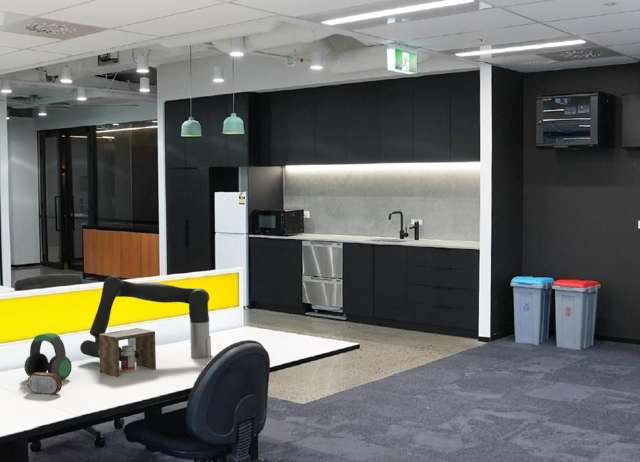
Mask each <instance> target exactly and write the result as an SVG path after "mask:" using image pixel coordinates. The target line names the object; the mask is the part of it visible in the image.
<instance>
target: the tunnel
mask: <svg viewBox="0 0 640 462" xmlns="http://www.w3.org/2000/svg"><path fill="white" fill-rule="evenodd" d="M131 338H135V339H136V351H137V353H139V358H135V367H136V366H138V367H142V368H146V369H150V370H157V365H156V364H157V360H156V359H157V356H156V331H155V330H151V329H146V328H145V329H144V328H140V327H139V328H138V327H136V328H135V327H134V328H130V329H123V330H116V331H111V332H105V333H103V334H99V354H100V358H99V373H100V374H103V375H107V376H112V377H115V378H119V377H120V375H121V374H120V371H121V370H120V361H119V347H120V343H119V342H120V341H124V340H128V339H131Z"/></svg>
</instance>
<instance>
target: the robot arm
mask: <svg viewBox="0 0 640 462" xmlns="http://www.w3.org/2000/svg"><path fill="white" fill-rule="evenodd" d="M117 297H118V298H119V297H120V298H124V297H125V298H135V299H139V300H143V301H148V302H154V303H163V304H164V303H166V304H167V303H181V304H182V303H183V304H188V310H189V315H188V316H189V324H190V326H189V329H190V331H189V333H190V357H191V358H193V359H204V358H209V357H210V356H212V342H211V341H212V339H211V335H210V317H209V301H210V294H209V292H208V291H207V290H206V289H203V288H198V287H197V288H191V287H187V288H186V287H179V286H176V285H171V284H165V283H160V282H159V283H158V282H132V281H127V280H123V279H120V277H117V276H109V277H107V278H105V280H104V282H103V284H102V291H101V296H100V299H99V300H100V301H99V303H98V308H97V311H96V314H95V316H94V319H93V322H92V324H91V328H90V330H89V334H90V335H91V336H92V337H94V341H93V340H89V339H86V340H83V342H81V344H80V345H79V346H80V347H79V350H80V352H81V353H82V354H83V355H85V356H89V357H92V358H98V359H100V354H99V334H103V333H107V328H108V325H109V321H110V317H111V312H112V308H113V305H114V301H115V300H116V298H117ZM132 351H134V353H135V359H136V358H139V353H137V351H135V350H132ZM122 352H123V351H122V347H120V346H119V362H121V361H123V357H122V356H121V353H122Z"/></svg>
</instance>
